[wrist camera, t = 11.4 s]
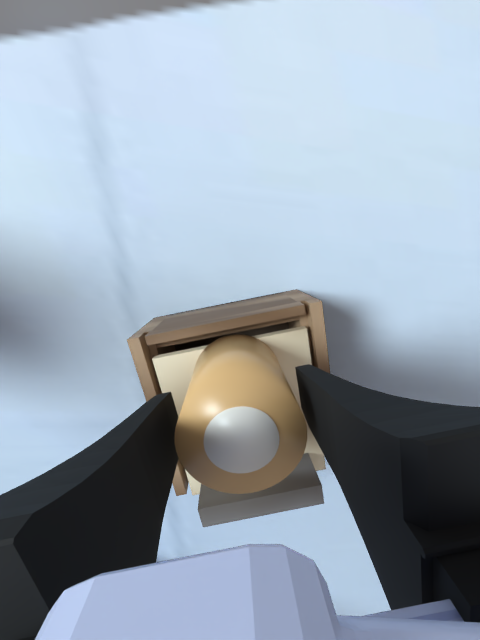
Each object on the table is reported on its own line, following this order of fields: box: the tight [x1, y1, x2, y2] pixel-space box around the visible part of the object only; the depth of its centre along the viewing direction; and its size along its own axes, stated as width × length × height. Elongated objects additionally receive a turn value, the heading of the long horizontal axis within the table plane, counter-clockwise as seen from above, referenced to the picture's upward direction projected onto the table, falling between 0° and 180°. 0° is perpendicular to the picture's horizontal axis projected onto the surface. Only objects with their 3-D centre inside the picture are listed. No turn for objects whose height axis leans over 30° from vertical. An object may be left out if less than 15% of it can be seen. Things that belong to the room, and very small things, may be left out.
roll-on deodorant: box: [175, 334, 307, 494], centre depth 11 cm, size 5×5×5 cm
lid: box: [152, 326, 326, 527], centre depth 13 cm, size 9×8×3 cm
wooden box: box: [127, 290, 330, 496], centre depth 16 cm, size 10×10×5 cm
